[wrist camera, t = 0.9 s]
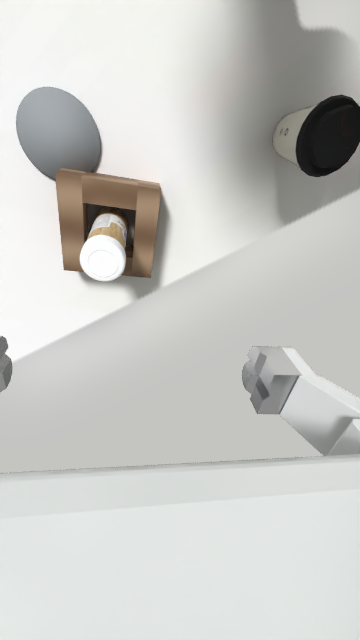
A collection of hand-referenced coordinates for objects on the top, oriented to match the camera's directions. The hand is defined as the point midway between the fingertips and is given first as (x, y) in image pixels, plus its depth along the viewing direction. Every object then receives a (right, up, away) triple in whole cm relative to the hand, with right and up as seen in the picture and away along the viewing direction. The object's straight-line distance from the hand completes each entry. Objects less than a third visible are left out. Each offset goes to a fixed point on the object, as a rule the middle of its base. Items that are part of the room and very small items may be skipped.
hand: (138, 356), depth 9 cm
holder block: (-8, +15, +28) cm, 33 cm away
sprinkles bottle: (-8, +15, +28) cm, 33 cm away
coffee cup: (+16, +25, +25) cm, 39 cm away
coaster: (-13, +23, +22) cm, 34 cm away
